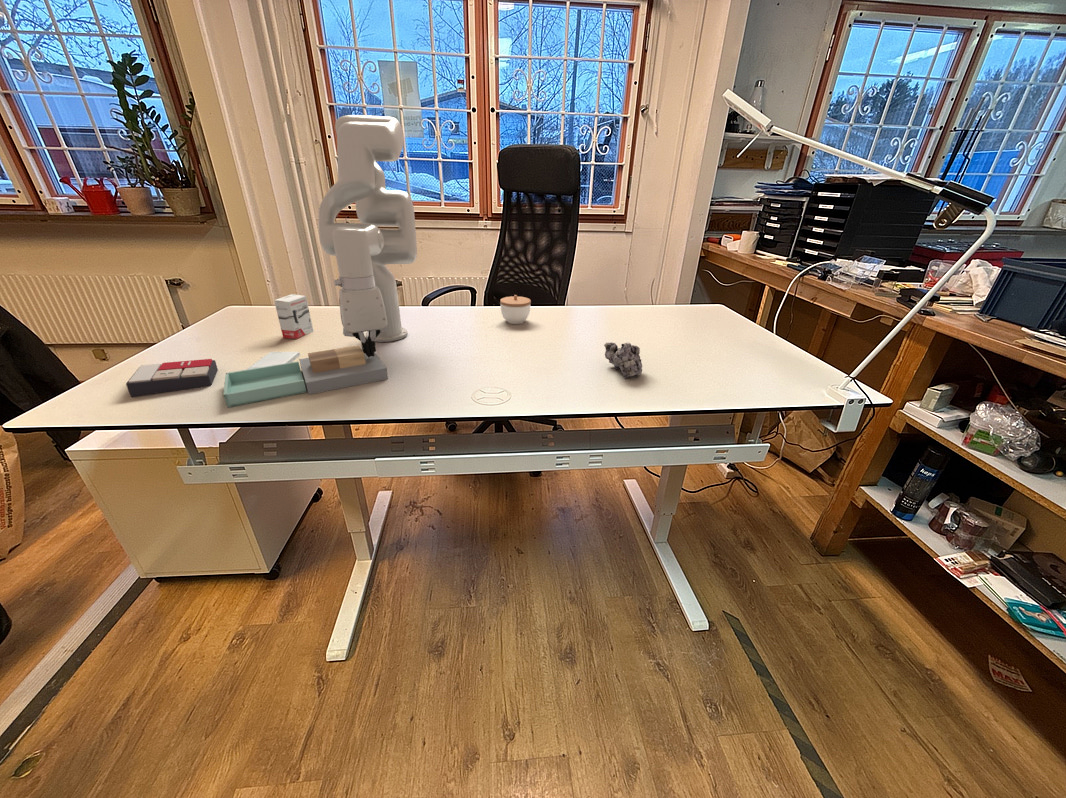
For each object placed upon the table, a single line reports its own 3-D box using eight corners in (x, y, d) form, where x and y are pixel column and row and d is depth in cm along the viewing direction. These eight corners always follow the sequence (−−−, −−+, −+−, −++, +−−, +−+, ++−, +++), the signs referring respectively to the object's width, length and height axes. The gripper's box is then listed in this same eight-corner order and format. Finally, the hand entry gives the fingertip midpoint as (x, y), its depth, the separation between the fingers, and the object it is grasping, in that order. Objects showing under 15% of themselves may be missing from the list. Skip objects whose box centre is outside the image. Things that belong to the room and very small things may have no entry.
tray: (229, 384, 101) (225, 373, 99) (301, 372, 108) (298, 361, 107) (227, 407, 91) (223, 395, 89) (306, 392, 98) (303, 380, 97)
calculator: (207, 373, 98) (123, 381, 92) (212, 389, 100) (130, 398, 94) (214, 356, 107) (138, 363, 101) (219, 372, 109) (144, 379, 103)
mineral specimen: (599, 348, 117) (618, 326, 110) (628, 358, 120) (649, 336, 112) (600, 383, 110) (621, 362, 103) (631, 393, 113) (653, 372, 105)
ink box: (296, 339, 129) (287, 301, 124) (282, 338, 130) (272, 300, 125) (314, 331, 137) (306, 294, 131) (301, 329, 138) (292, 293, 132)
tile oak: (336, 360, 108) (333, 349, 106) (360, 356, 111) (358, 345, 109) (340, 368, 103) (338, 357, 102) (365, 363, 106) (363, 352, 105)
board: (301, 370, 109) (299, 359, 108) (373, 357, 118) (371, 347, 116) (308, 394, 97) (305, 382, 96) (388, 378, 106) (386, 367, 104)
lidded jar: (499, 317, 155) (499, 291, 151) (528, 317, 156) (529, 291, 152) (501, 326, 146) (500, 299, 141) (531, 325, 147) (532, 299, 142)
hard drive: (269, 351, 117) (244, 369, 106) (299, 351, 118) (277, 368, 107) (270, 357, 118) (246, 375, 107) (300, 357, 119) (279, 374, 108)
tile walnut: (310, 364, 105) (307, 353, 104) (336, 360, 108) (333, 349, 106) (313, 373, 100) (310, 361, 99) (340, 368, 103) (337, 357, 102)
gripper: (326, 289, 94) (341, 365, 102) (394, 283, 101) (403, 354, 109) (321, 282, 100) (336, 355, 108) (385, 277, 107) (395, 345, 115)
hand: (370, 354), depth 109 cm, fingers closed
